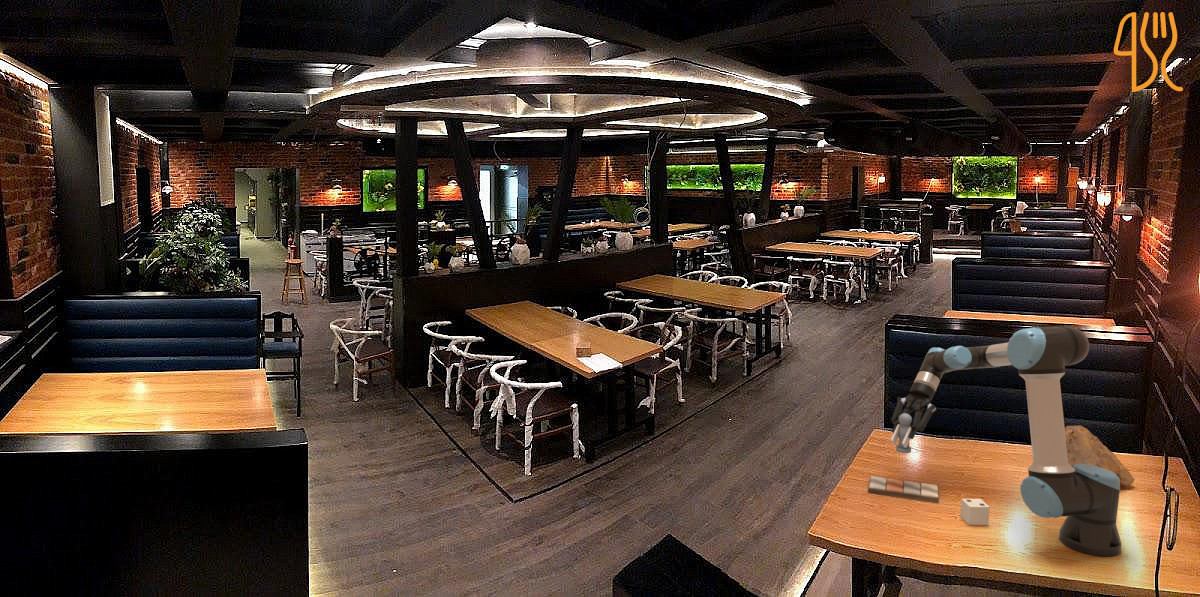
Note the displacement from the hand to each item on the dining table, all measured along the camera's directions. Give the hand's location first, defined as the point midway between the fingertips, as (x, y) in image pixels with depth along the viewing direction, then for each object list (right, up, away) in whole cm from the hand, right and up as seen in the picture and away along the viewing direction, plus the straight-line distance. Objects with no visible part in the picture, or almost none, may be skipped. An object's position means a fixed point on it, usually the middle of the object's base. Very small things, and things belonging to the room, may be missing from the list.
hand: (898, 443), depth 248 cm
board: (+3, -17, +4) cm, 18 cm away
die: (+16, -21, -19) cm, 32 cm away
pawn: (+3, -3, +3) cm, 5 cm away
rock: (+76, -15, +16) cm, 79 cm away
